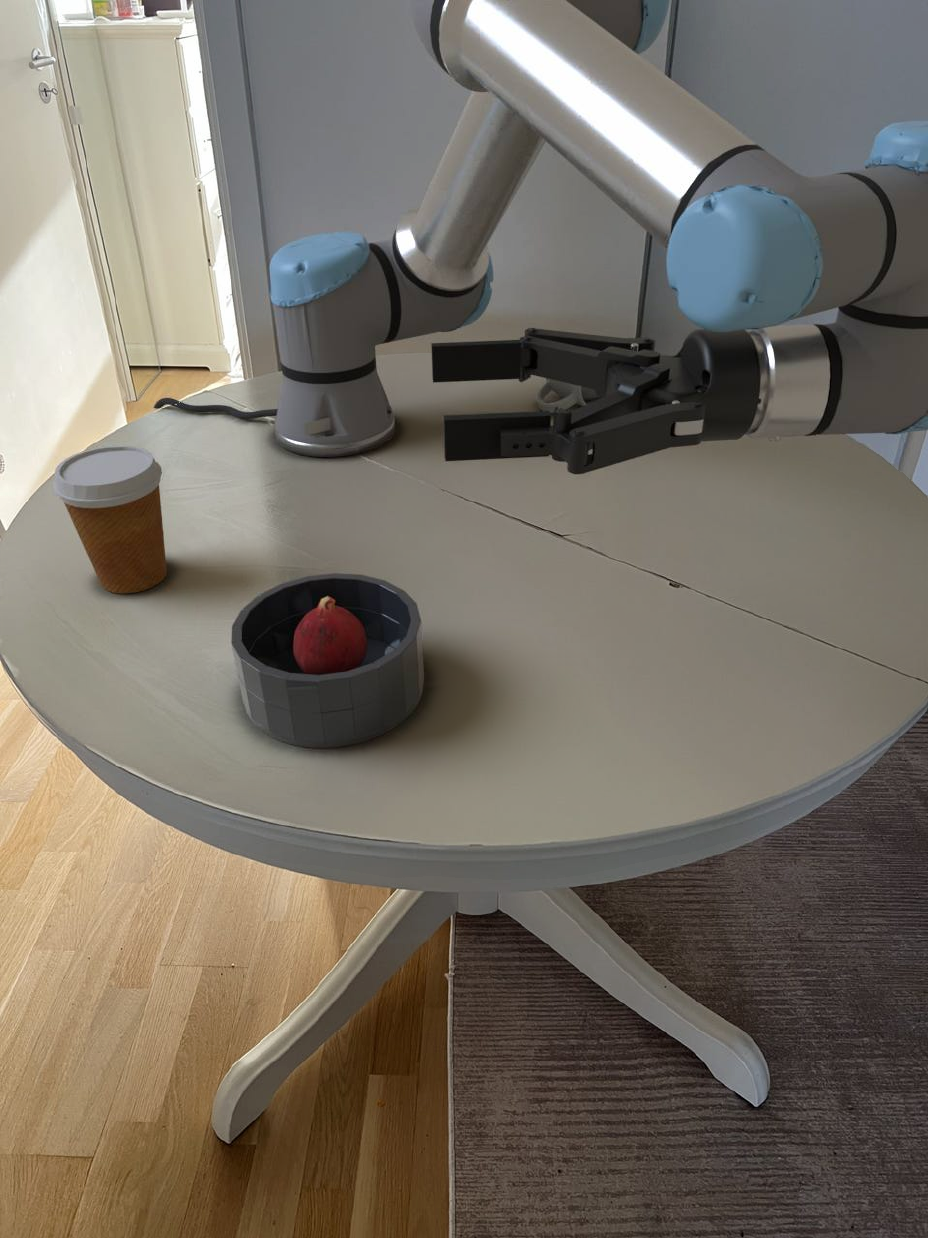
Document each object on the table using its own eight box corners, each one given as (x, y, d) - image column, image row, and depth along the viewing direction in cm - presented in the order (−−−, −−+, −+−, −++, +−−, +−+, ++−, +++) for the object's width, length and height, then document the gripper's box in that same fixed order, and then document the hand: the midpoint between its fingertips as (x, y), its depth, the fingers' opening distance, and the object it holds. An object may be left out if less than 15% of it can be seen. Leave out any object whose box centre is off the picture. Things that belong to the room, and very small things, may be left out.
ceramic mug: (579, 385, 131) (582, 332, 126) (621, 402, 125) (624, 346, 121) (522, 405, 126) (523, 349, 121) (563, 423, 120) (564, 365, 116)
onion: (357, 708, 72) (348, 625, 68) (288, 699, 73) (275, 616, 69) (378, 664, 77) (371, 583, 72) (313, 656, 78) (302, 576, 73)
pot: (208, 691, 75) (193, 626, 72) (344, 616, 84) (337, 555, 80) (322, 776, 67) (312, 708, 63) (460, 683, 76) (458, 618, 72)
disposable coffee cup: (87, 613, 85) (52, 496, 78) (79, 564, 92) (46, 454, 85) (191, 589, 88) (166, 475, 81) (175, 544, 95) (151, 436, 88)
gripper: (803, 518, 55) (452, 537, 54) (686, 373, 76) (429, 384, 74) (830, 399, 51) (449, 416, 50) (699, 279, 71) (426, 289, 70)
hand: (437, 397), depth 62 cm, fingers open, 13 cm apart
